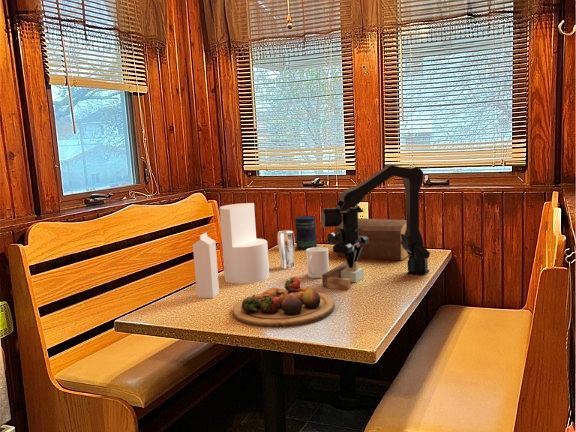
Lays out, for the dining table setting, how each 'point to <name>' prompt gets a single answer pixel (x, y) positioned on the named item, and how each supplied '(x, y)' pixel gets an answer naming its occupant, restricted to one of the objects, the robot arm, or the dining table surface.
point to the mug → (317, 261)
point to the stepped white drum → (242, 245)
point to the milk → (206, 267)
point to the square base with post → (353, 272)
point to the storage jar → (305, 232)
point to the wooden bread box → (380, 239)
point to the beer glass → (286, 248)
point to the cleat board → (336, 279)
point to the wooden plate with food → (284, 306)
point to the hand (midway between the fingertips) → (352, 267)
